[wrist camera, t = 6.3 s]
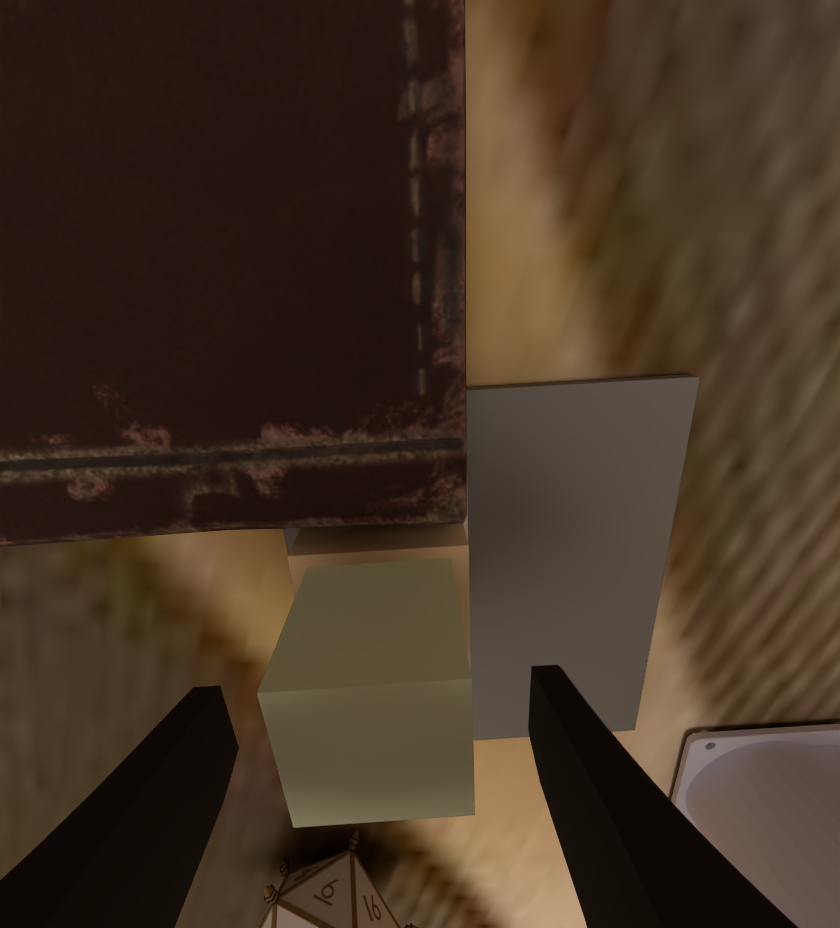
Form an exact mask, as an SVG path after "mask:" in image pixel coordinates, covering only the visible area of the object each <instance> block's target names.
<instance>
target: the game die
mask: <svg viewBox="0 0 840 928" xmlns="http://www.w3.org/2000/svg"><path fill="white" fill-rule="evenodd" d="M350 838H351V839H350V842H349V849H348V850H347V851H344V852H342V853H339V854H336V855H334V856H331V857H329V858H326V859H324V860H321V861H319V862H316V863H314V864H311V865H309V866H306V867H304V868H301V869H298V870H296V871H293V872H291V873H290V868H291V867H290V866H289V862H285V861H283V860H281V867H280V872H281V873H282V876H284V877H285V878H284V880H283V882H282V884H281V886H280V888H279V890H278V891H276V890H275V888H274V886H273V885H271V886H265V896H264V900H267V903H271V905H270V907H269V909H268V911H267V913H266V915H265V917H264V919H263V921H262V923H261V925H260V927H259V928H400V926H399V924H398V923H397V921H396V919H395V918H394V916H393V915H392V913H391V911H390V910H389V908H388V906H387V905H386V903H385V901H384V900H383V898H382V896H381V895H380V893H379V892H378V890H377V888H376V887H375V885H374V883H373V882H372V880H371V878H370V877H369V875H368V874H367V872H366V870H365V869H364V867H363V865H362V864H361V862H360V860H359V859H358V857H357V856H356V854H355V852H354V851H355V848H356V847H357V846H358V841H359V837H358V829H357V831H356V832H355V833H354V834H353V835H352V836H350ZM410 924H411V925H408V926H407V925H406V927H405V928H418V927H416V926H414V925H412V923H410Z"/></svg>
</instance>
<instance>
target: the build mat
mask: <svg viewBox="0 0 840 928" xmlns="http://www.w3.org/2000/svg"><path fill="white" fill-rule="evenodd" d="M699 379H700V377H699V376H694V375H690V374H685V375H667V376H650V377H633V378H616V379H599V380H582V381H565V382H548V383H531V384H513V385H496V386H479V387H466V418H467V439H466V451H467V516H466V519H465V521H464V523H463V525H464V529H465V532H466V536H467V540H468V544H469V594H470V669H471V677H472V708H473V740H487V739H503V738H518V737H530V736H529V731H528V720H529V702H530V683H531V666H543V665H559V666H560V667H561V668H562V669H563V670H564V672H565V673H566V674H567V676H568V677H569V679H570V680H571V681H572V683H573V684H574V685H575V687H576V688H577V689H578V691H579V692H580V693H581V695H582V696H583V697H584V699H585V700H586V701H587V702H588V704H589V705H590V706H591V708H592V709H593V710H594V711H595V713H596V714H597V715H598V716H599V718H600V719H601V720H602V722H603V723H604V724H605V725H606V726H607V728H608V729H609V730H610V731H611V732H612V731H627V730H635V726H636V720H637V715H638V710H639V704H640V699H641V693H642V688H643V682H644V677H645V672H646V666H647V661H648V655H649V650H650V645H651V639H652V634H653V628H654V623H655V617H656V612H657V607H658V601H659V596H660V590H661V585H662V579H663V574H664V569H665V563H666V558H667V552H668V547H669V542H670V536H671V531H672V525H673V520H674V514H675V509H676V504H677V498H678V493H679V487H680V482H681V476H682V471H683V466H684V460H685V455H686V449H687V444H688V439H689V433H690V428H691V422H692V417H693V411H694V406H695V401H696V395H697V390H698V384H699ZM300 529H301V528H287V529H284V534H285V540H286V545H287V550H288V553H289V551H290V549H291V547H292V545H293V543H294V541H295V539H296V537H297V535H298V533H299V531H300Z"/></svg>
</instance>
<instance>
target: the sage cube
mask: <svg viewBox="0 0 840 928" xmlns="http://www.w3.org/2000/svg"><path fill="white" fill-rule="evenodd" d="M257 695H258V699H259V702H260V706H261V710H262V713H263V717H264V721H265V724H266V728H267V732H268V735H269V739H270V743H271V746H272V750H273V754H274V757H275V761H276V765H277V769H278V772H279V776H280V780H281V783H282V787H283V791H284V794H285V798H286V802H287V805H288V809H289V813H290V816H291V820H292V824H293V827H294V828H296V827H311V826H325V825H339V824H353V823H368V822H382V821H396V820H410V819H424V818H439V817H453V816H467V815H475V799H474V754H473V708H472V677H471V671H470V665H469V659H468V654H467V648H466V642H465V636H464V631H463V625H462V619H461V613H460V608H459V602H458V596H457V590H456V585H455V579H454V573H453V567H452V561H451V558H438V559H423V560H408V561H394V562H379V563H364V564H349V565H334V566H320V567H307V569H306V571H305V574H304V576H303V579H302V581H301V584H300V586H299V589H298V592H297V594H296V597H295V599H294V602H293V604H292V607H291V609H290V612H289V614H288V617H287V619H286V622H285V624H284V627H283V629H282V632H281V634H280V637H279V640H278V642H277V645H276V647H275V650H274V652H273V655H272V657H271V660H270V662H269V665H268V667H267V670H266V672H265V675H264V677H263V680H262V682H261V685H260V688H259V690H258V693H257Z"/></svg>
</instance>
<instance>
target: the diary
mask: <svg viewBox="0 0 840 928" xmlns="http://www.w3.org/2000/svg"><path fill="white" fill-rule="evenodd" d="M466 439H467V418H466V75H465V0H0V547H1V546H18V545H32V544H45V543H58V542H72V541H85V540H99V539H112V538H126V537H139V536H153V535H166V534H180V533H193V532H207V531H220V530H243V529H287V528H331V527H375V526H419V525H444V524H463V523H464V521H465V519H466V516H467V451H466Z"/></svg>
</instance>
